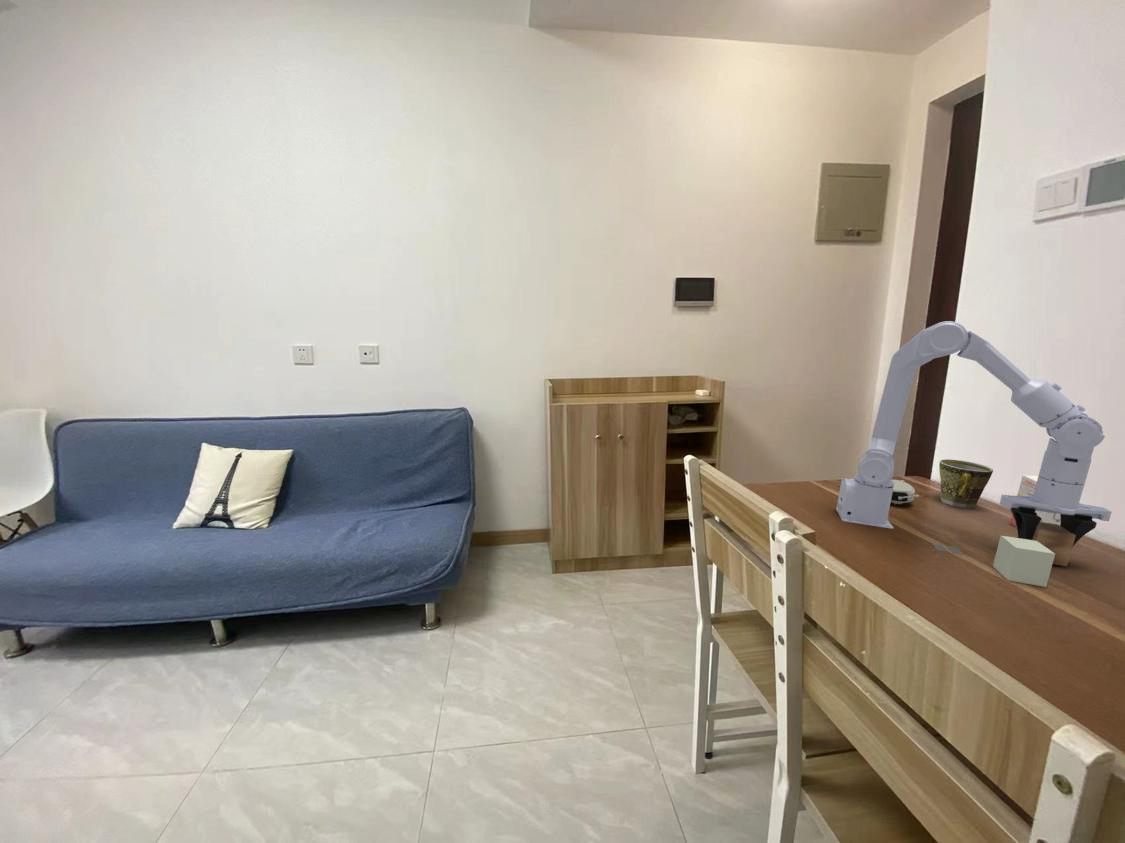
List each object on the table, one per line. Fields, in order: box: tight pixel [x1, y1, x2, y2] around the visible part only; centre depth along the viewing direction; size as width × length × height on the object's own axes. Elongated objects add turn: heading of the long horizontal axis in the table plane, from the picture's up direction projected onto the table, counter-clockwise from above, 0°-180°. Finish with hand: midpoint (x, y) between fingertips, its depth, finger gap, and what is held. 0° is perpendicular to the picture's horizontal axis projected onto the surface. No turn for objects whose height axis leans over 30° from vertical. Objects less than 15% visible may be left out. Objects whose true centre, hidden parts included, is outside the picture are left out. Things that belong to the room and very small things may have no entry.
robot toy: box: [840, 477, 920, 505], centre depth 116 cm, size 12×4×15 cm
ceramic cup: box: [938, 458, 994, 509], centre depth 112 cm, size 13×10×10 cm
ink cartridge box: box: [1009, 474, 1061, 528], centre depth 97 cm, size 9×5×15 cm, turn 168°
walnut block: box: [1032, 522, 1076, 567], centre depth 85 cm, size 5×5×6 cm
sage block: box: [992, 535, 1055, 588], centre depth 79 cm, size 5×5×6 cm
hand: (1042, 549), depth 85 cm, fingers closed on walnut block, 5 cm apart
